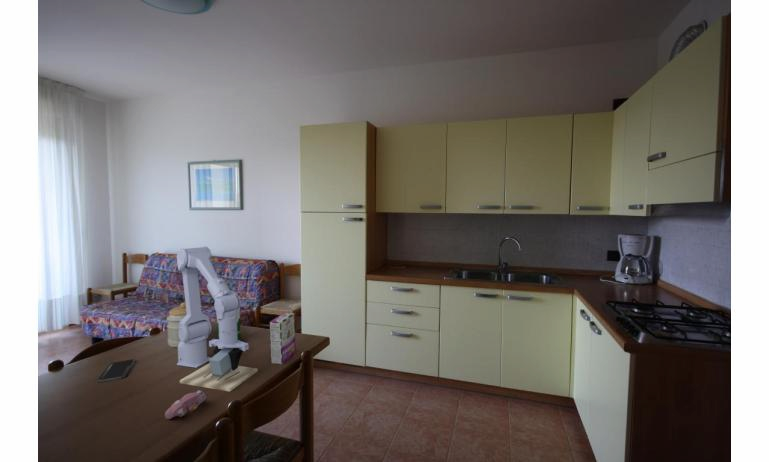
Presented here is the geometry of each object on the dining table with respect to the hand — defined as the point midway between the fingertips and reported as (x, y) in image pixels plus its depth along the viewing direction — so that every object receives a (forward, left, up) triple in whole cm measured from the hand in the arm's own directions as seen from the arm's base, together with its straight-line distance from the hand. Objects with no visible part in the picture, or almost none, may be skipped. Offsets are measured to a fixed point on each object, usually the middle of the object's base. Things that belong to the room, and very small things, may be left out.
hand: (229, 368), depth 115 cm
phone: (-43, -6, -4) cm, 44 cm away
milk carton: (-23, +27, -4) cm, 36 cm away
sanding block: (0, -2, +1) cm, 2 cm away
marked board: (-4, 0, -4) cm, 5 cm away
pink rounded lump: (+2, -20, -4) cm, 20 cm away
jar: (-42, +22, -4) cm, 48 cm away
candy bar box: (+9, +19, -4) cm, 21 cm away
